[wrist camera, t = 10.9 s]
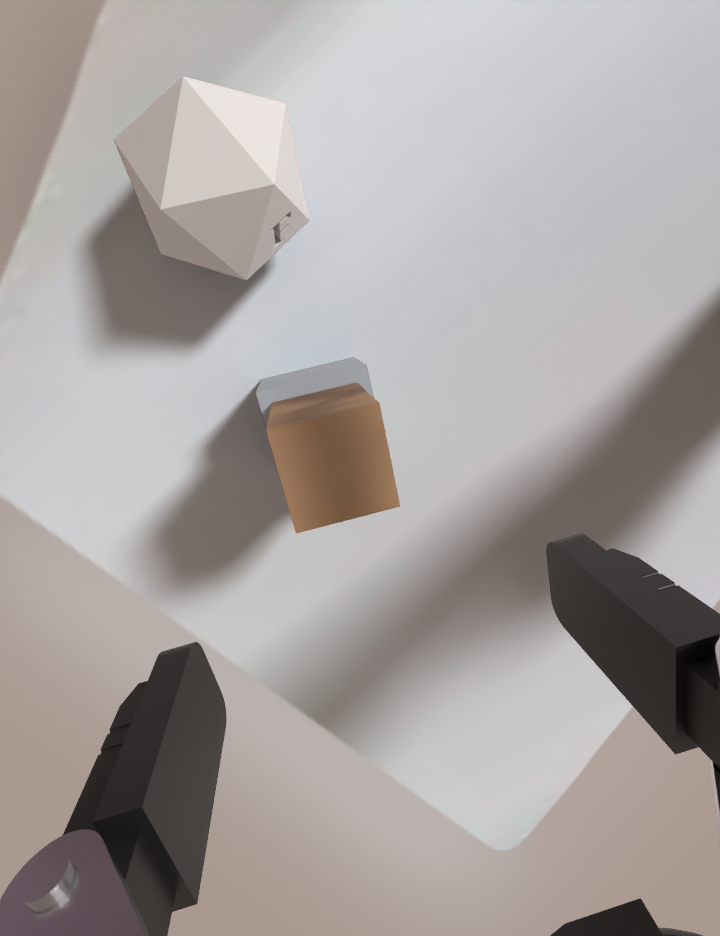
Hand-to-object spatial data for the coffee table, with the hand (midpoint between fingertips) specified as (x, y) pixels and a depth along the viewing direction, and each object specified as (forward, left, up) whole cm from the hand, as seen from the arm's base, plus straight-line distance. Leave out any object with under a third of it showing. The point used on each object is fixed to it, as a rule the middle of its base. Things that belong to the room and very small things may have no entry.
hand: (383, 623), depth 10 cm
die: (+2, -14, -24) cm, 28 cm away
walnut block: (0, 0, -18) cm, 18 cm away
